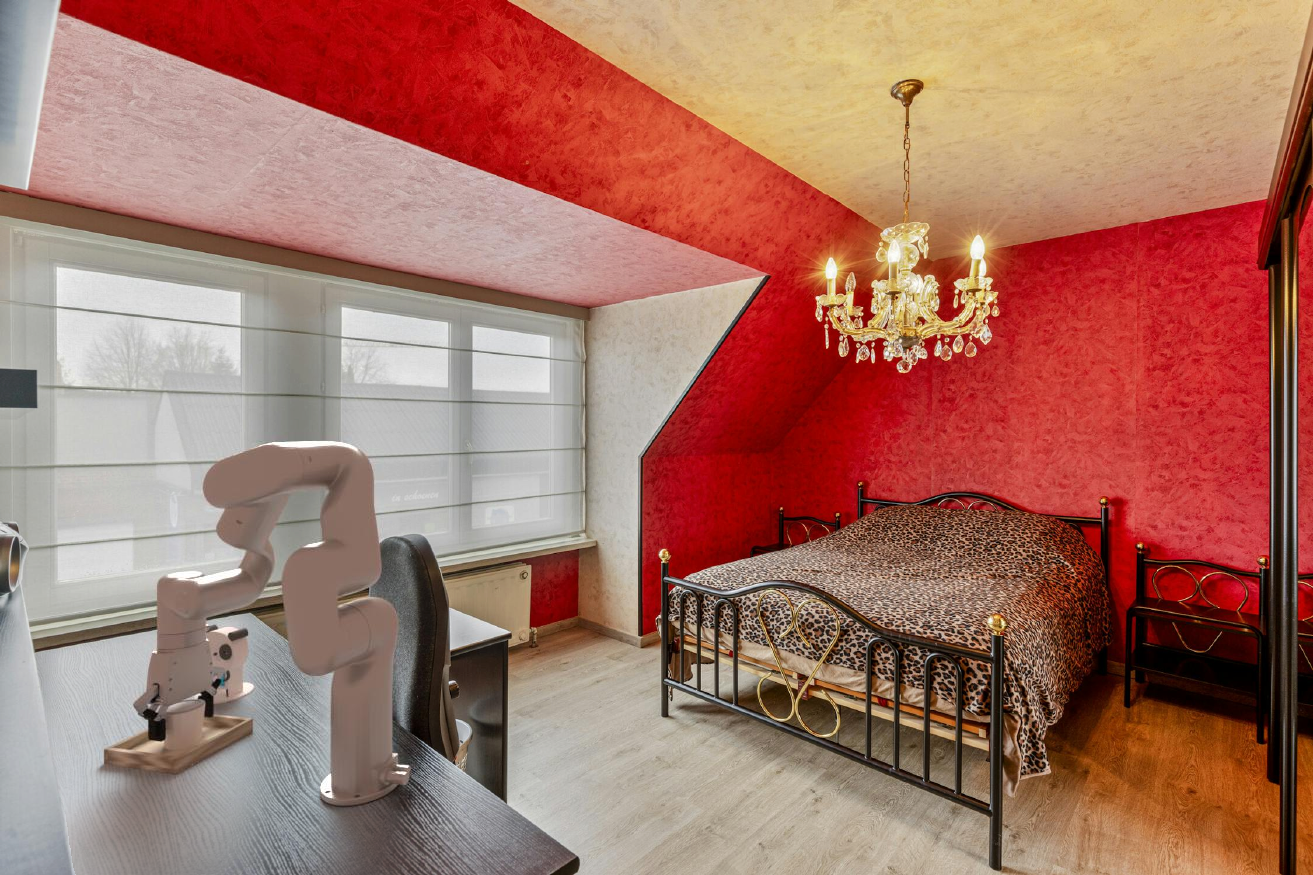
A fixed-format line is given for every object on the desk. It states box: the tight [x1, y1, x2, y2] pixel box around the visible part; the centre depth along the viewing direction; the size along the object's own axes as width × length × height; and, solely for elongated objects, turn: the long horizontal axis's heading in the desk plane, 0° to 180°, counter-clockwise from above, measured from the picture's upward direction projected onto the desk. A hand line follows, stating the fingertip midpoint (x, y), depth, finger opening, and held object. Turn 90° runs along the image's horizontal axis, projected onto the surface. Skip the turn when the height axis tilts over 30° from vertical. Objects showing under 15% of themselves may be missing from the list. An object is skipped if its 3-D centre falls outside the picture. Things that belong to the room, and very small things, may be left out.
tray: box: [103, 713, 254, 775], centre depth 119 cm, size 16×16×3 cm
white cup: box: [162, 698, 205, 750], centre depth 119 cm, size 7×7×7 cm
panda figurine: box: [193, 624, 255, 705], centre depth 144 cm, size 12×11×15 cm
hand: (182, 727), depth 119 cm, fingers open, 9 cm apart
